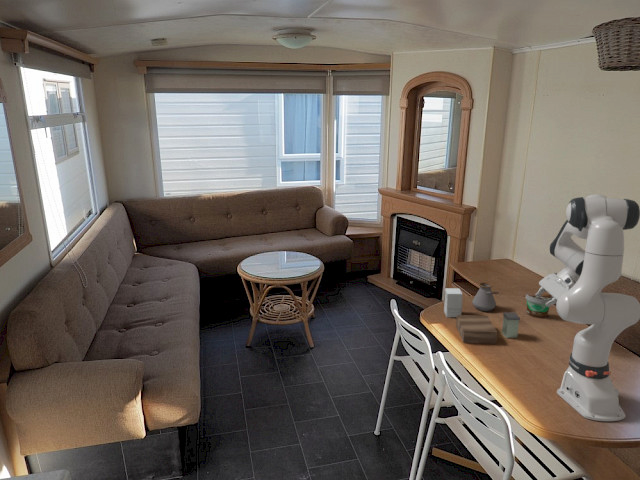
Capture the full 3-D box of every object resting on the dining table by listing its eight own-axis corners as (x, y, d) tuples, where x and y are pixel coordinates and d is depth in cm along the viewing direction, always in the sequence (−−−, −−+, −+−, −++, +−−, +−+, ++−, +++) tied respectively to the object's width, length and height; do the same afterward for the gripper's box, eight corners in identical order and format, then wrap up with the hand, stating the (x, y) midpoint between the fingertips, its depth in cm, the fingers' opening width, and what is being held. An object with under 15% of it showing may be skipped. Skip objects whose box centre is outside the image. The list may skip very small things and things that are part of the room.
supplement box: (458, 311, 235) (460, 288, 231) (461, 317, 228) (463, 294, 224) (443, 310, 236) (445, 287, 232) (445, 317, 229) (447, 293, 225)
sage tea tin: (517, 338, 208) (519, 317, 205) (505, 338, 208) (507, 317, 205) (512, 332, 213) (515, 312, 210) (501, 332, 213) (503, 312, 210)
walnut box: (496, 344, 204) (497, 332, 202) (463, 343, 205) (464, 331, 203) (486, 327, 219) (487, 315, 217) (456, 326, 220) (456, 315, 218)
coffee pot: (468, 303, 244) (470, 276, 239) (490, 303, 244) (493, 276, 240) (483, 322, 223) (486, 293, 219) (507, 321, 223) (510, 292, 219)
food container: (524, 317, 227) (527, 298, 224) (523, 312, 233) (525, 293, 230) (552, 320, 224) (555, 301, 221) (550, 315, 229) (553, 296, 227)
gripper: (551, 266, 212) (527, 287, 215) (574, 284, 192) (547, 306, 195) (559, 276, 213) (535, 295, 216) (583, 293, 194) (556, 315, 196)
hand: (541, 300), depth 206 cm, fingers open, 8 cm apart
